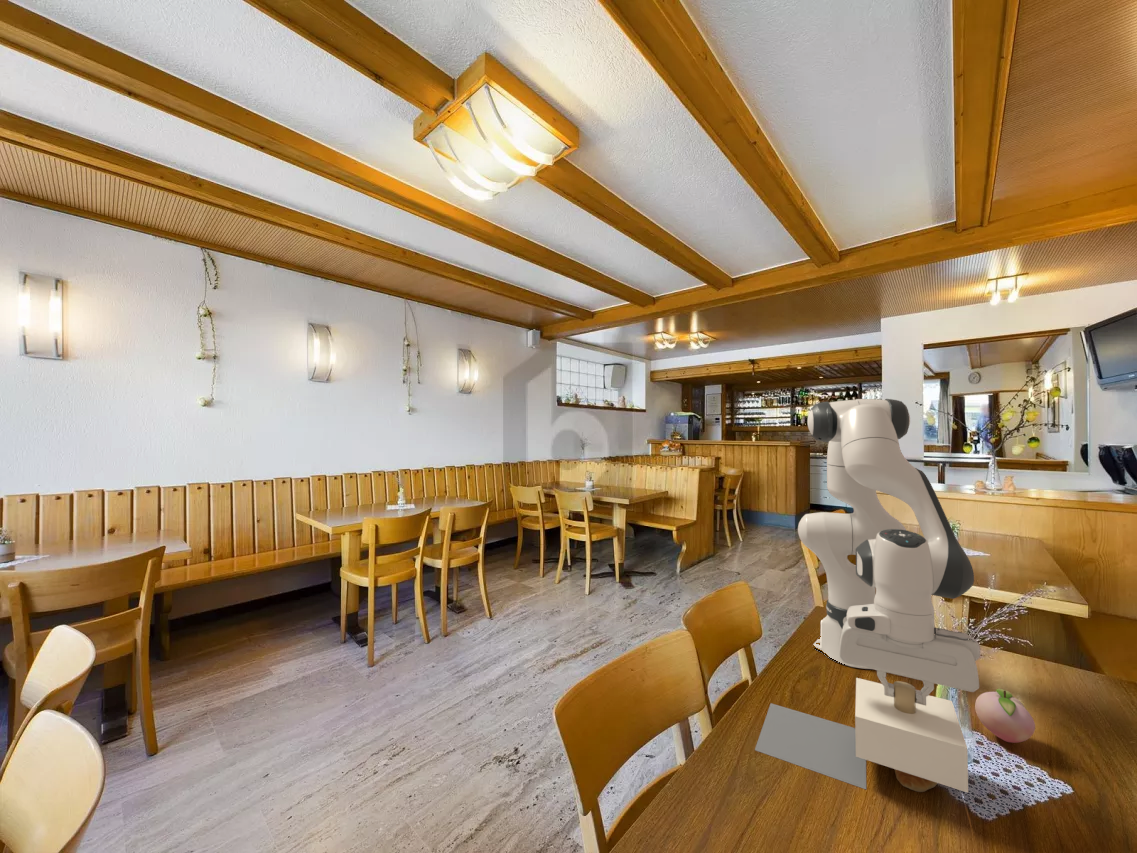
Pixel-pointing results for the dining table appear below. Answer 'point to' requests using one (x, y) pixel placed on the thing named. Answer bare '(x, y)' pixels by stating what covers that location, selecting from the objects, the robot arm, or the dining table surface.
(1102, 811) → the dining table surface
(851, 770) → the mat
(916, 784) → the pastry
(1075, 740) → the dining table surface
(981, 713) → the decorative fruit
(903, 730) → the cover
